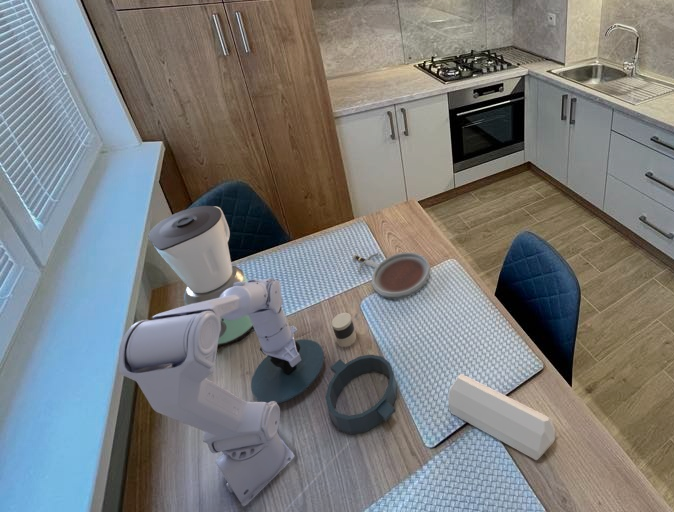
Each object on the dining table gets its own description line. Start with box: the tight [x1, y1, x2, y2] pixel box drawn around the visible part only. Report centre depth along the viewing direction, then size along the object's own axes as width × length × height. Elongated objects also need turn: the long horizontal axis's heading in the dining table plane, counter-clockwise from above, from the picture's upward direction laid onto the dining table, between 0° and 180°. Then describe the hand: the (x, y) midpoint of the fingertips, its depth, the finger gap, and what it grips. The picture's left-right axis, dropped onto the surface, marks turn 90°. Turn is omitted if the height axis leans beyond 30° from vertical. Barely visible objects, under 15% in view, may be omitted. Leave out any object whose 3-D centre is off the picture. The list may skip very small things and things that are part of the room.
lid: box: [250, 338, 325, 404], centre depth 91 cm, size 15×15×5 cm
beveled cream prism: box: [447, 373, 556, 461], centre depth 84 cm, size 7×7×24 cm
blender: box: [147, 205, 254, 347], centre depth 100 cm, size 19×13×35 cm
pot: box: [325, 354, 398, 435], centre depth 87 cm, size 14×19×6 cm
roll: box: [331, 312, 357, 348], centre depth 100 cm, size 4×4×8 cm
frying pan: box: [352, 251, 431, 300], centre depth 122 cm, size 17×3×28 cm
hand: (288, 367), depth 91 cm, fingers closed on lid, 2 cm apart
